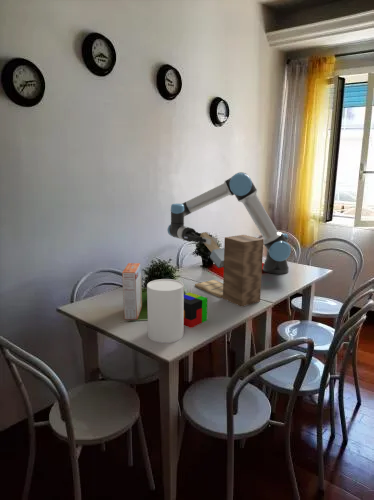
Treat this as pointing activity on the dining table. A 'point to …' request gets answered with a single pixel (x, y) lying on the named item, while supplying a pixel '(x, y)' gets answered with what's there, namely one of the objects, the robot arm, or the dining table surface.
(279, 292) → the dining table surface
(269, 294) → the dining table surface
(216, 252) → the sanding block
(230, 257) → the wooden block
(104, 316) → the dining table surface
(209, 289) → the board
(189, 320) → the puzzle toy
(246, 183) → the robot arm
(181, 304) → the canister
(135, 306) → the cracker box
